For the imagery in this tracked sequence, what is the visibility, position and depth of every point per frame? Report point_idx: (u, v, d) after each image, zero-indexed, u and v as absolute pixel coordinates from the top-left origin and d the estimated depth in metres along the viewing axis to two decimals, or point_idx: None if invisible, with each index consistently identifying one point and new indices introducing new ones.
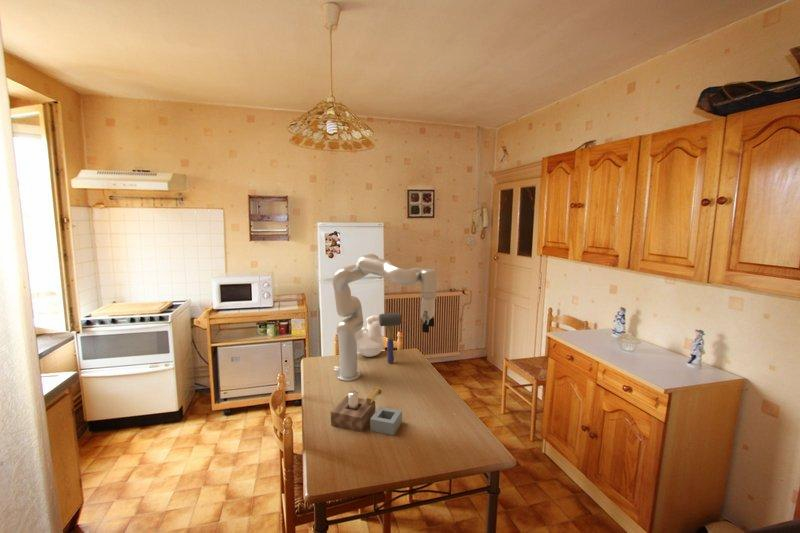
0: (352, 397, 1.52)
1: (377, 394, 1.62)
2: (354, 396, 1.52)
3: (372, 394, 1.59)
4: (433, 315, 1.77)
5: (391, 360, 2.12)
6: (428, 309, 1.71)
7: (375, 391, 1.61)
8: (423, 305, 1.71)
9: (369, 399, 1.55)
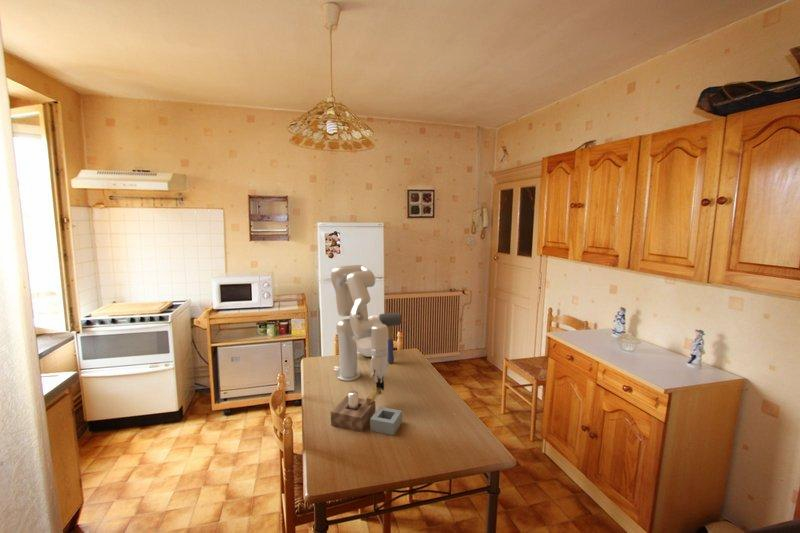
0: (352, 397, 1.52)
1: (377, 394, 1.62)
2: (354, 396, 1.52)
3: (372, 394, 1.59)
4: (385, 372, 1.67)
5: (391, 360, 2.12)
6: (378, 368, 1.60)
7: (375, 391, 1.61)
8: (373, 364, 1.61)
9: (369, 399, 1.55)
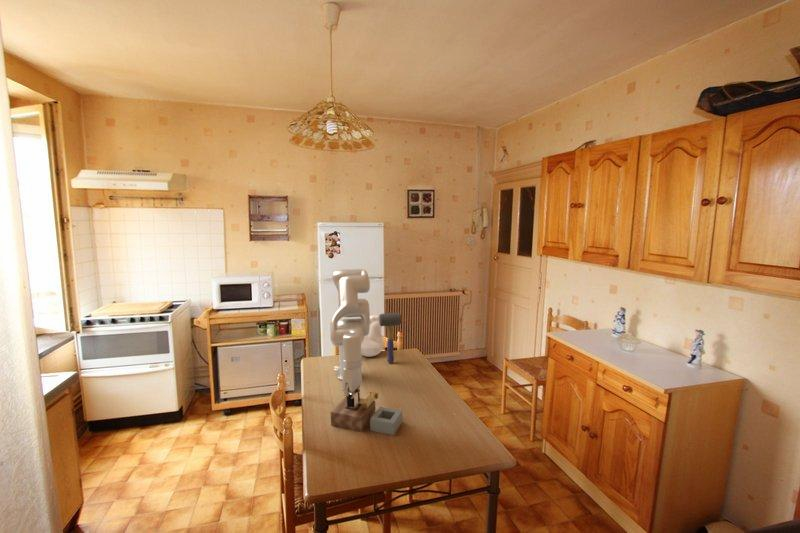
0: None
1: (373, 398, 1.58)
2: (354, 396, 1.52)
3: (368, 398, 1.55)
4: (359, 385, 1.54)
5: (391, 360, 2.12)
6: (350, 381, 1.47)
7: (371, 395, 1.58)
8: (345, 376, 1.48)
9: (365, 403, 1.51)
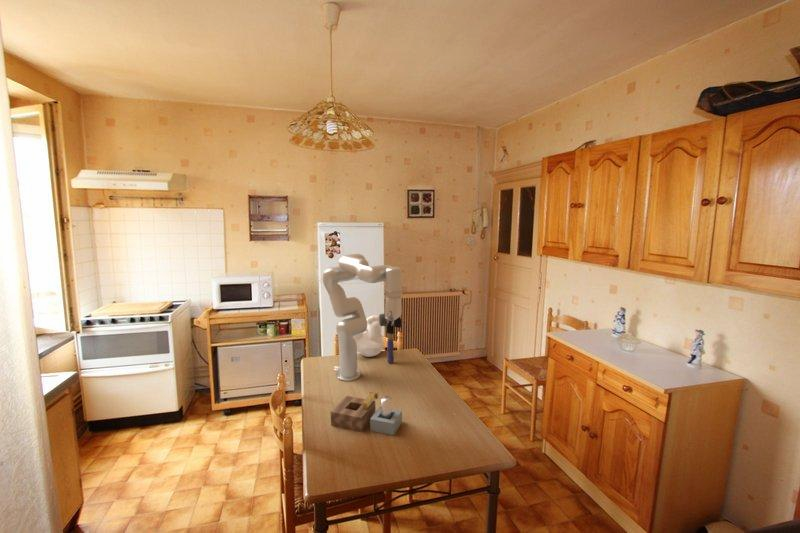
0: (385, 403, 1.47)
1: (373, 398, 1.58)
2: (388, 402, 1.47)
3: (368, 398, 1.55)
4: (399, 315, 1.69)
5: (391, 360, 2.12)
6: (393, 309, 1.62)
7: (371, 395, 1.58)
8: (388, 305, 1.63)
9: (365, 403, 1.51)
